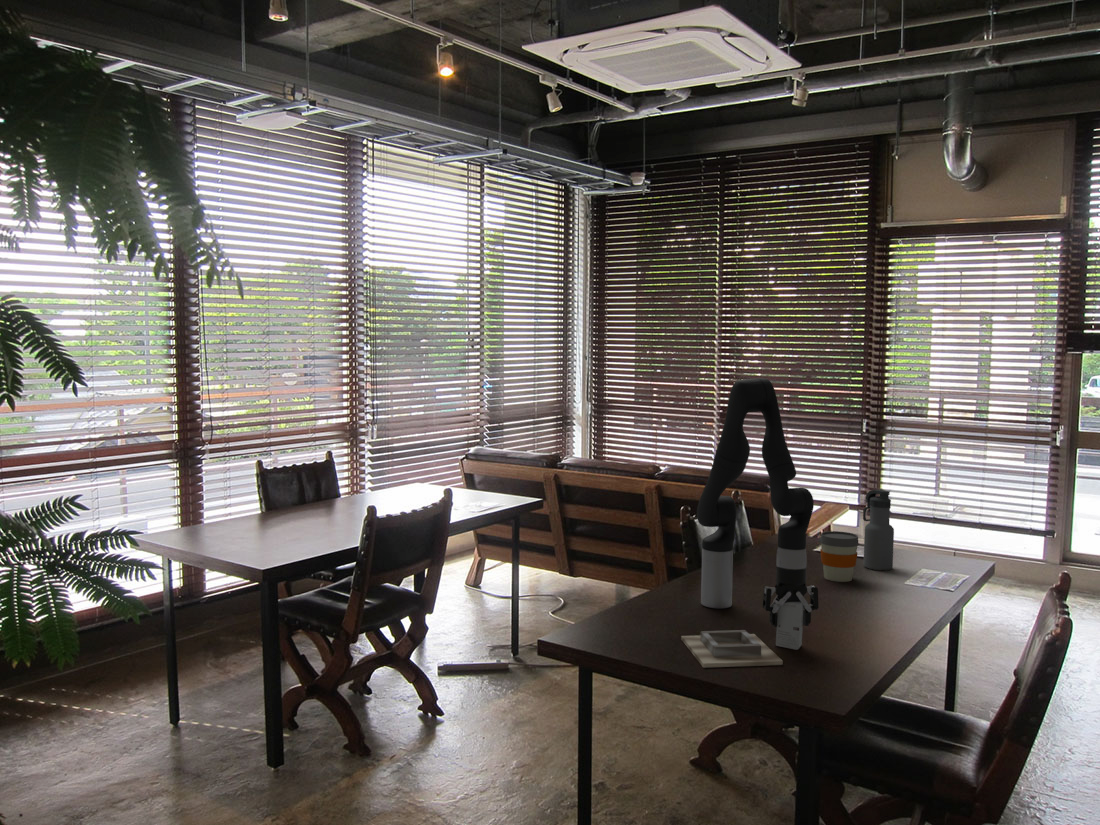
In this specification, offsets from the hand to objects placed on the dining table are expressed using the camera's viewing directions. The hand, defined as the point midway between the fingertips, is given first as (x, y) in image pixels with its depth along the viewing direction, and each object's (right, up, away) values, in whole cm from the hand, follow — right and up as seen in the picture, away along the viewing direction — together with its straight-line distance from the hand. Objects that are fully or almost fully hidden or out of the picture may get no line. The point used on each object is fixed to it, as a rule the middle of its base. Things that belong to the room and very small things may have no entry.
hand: (789, 625), depth 218 cm
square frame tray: (-17, -6, -4) cm, 18 cm away
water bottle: (+55, 0, +83) cm, 100 cm away
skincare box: (0, -6, +1) cm, 6 cm away
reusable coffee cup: (+36, -1, +68) cm, 77 cm away
